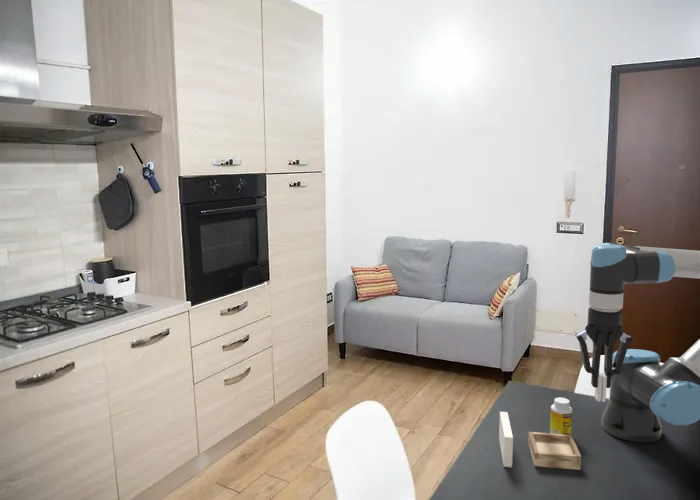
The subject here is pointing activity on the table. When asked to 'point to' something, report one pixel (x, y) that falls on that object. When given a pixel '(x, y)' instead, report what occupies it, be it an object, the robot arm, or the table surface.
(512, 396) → the table surface
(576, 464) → the beige shadow box
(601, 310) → the robot arm
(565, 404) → the supplement bottle
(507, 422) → the backstop
